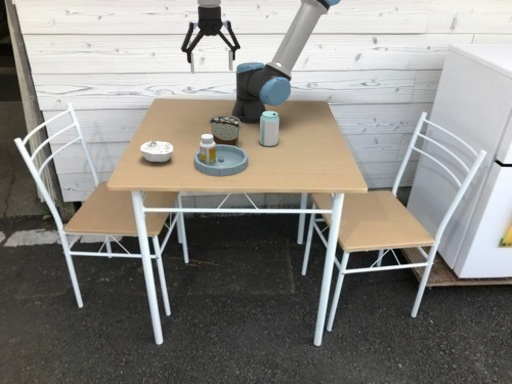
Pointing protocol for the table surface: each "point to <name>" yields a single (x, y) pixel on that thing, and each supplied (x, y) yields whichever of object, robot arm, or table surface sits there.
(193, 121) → the table surface
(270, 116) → the can
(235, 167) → the ring tray
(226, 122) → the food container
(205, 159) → the supplement bottle
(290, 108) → the table surface
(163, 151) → the cell model
